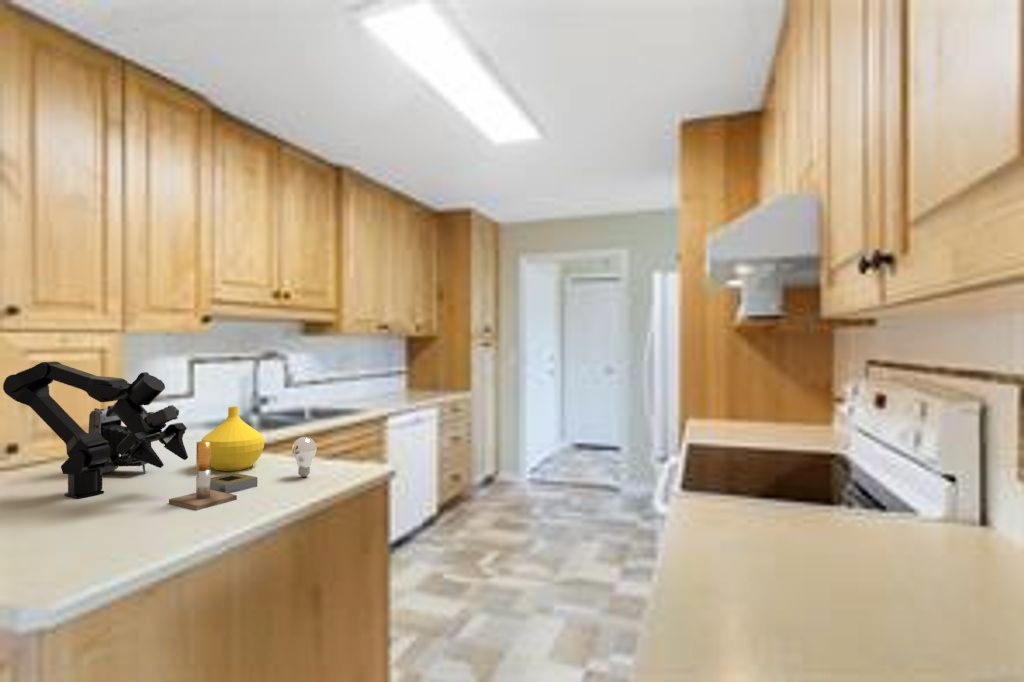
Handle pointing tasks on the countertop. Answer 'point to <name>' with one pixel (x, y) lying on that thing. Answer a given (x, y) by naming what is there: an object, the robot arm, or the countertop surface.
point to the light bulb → (304, 454)
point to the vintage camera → (112, 439)
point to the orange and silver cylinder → (203, 469)
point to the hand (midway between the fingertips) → (174, 462)
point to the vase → (234, 444)
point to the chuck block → (232, 482)
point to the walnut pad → (202, 500)
